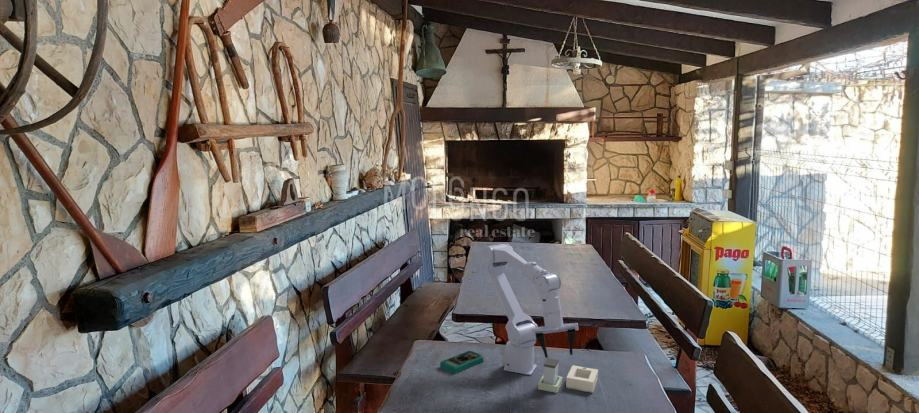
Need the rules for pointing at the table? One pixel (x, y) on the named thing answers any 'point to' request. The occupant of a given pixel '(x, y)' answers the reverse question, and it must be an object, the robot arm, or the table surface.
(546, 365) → the plug
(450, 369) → the digital multimeter
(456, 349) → the table surface
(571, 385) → the frame
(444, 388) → the table surface
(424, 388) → the table surface
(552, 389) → the pale green rectangular frame
